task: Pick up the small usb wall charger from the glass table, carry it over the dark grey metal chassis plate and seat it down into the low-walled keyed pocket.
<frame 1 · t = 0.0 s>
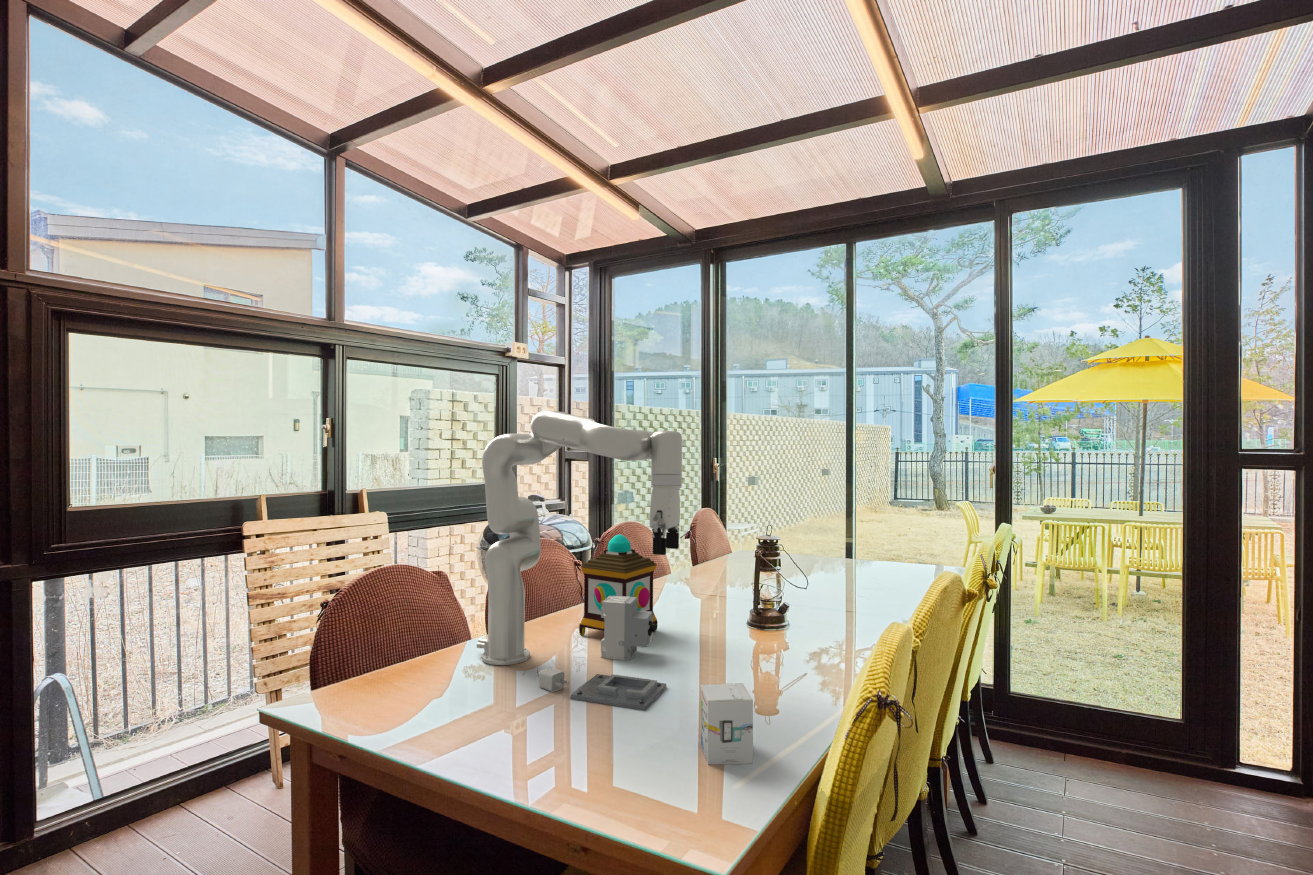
hand: (666, 551, 160), 31 cm above the table, fingers open, 9 cm apart
circuit breaker: (629, 656, 178), on the table
ink box: (726, 754, 122), on the table
chassis: (619, 693, 151), on the table
decorative lantern: (618, 634, 199), on the table
usb wall charger: (555, 690, 153), on the table
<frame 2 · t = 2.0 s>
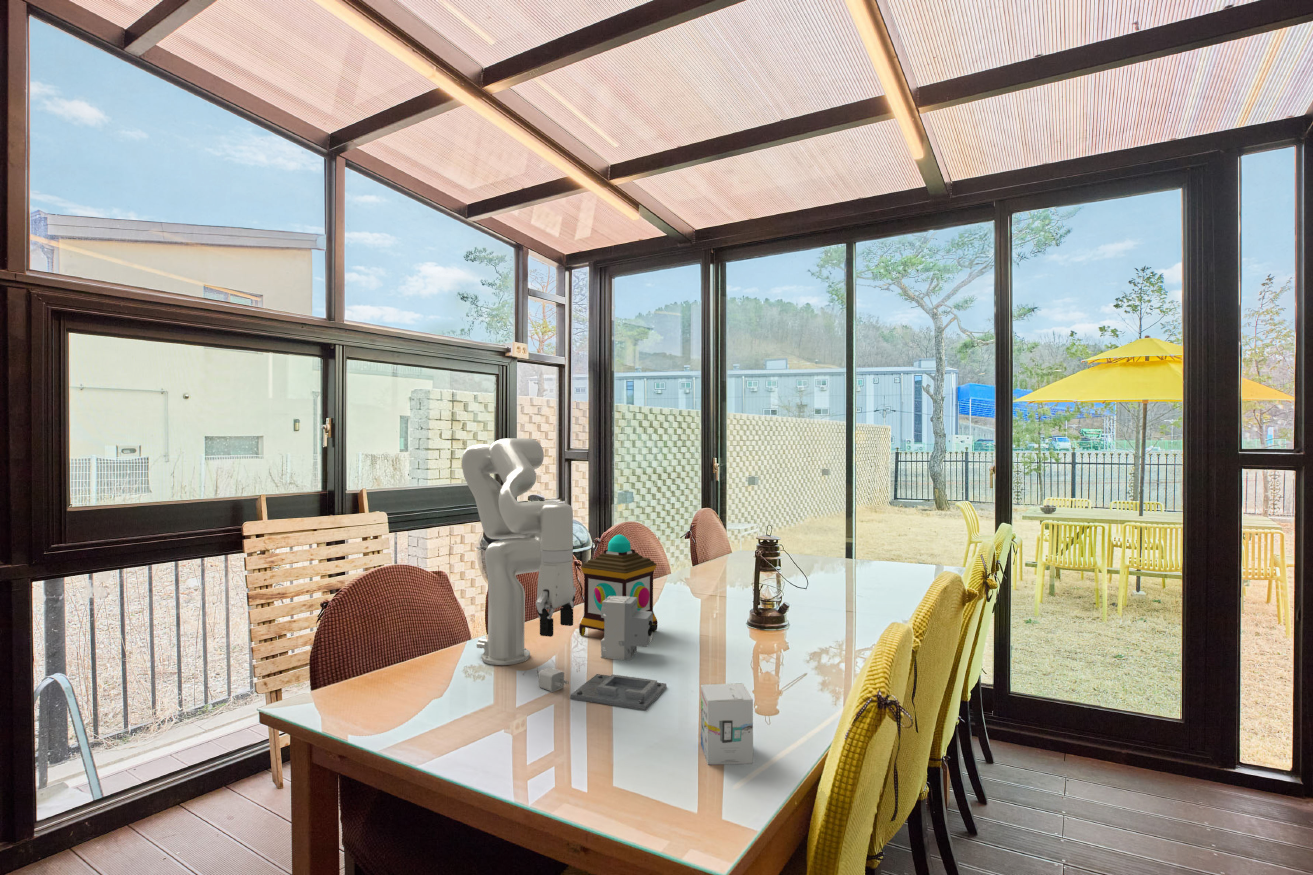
hand: (557, 630, 153), 14 cm above the table, fingers open, 9 cm apart
nothing on the table moved.
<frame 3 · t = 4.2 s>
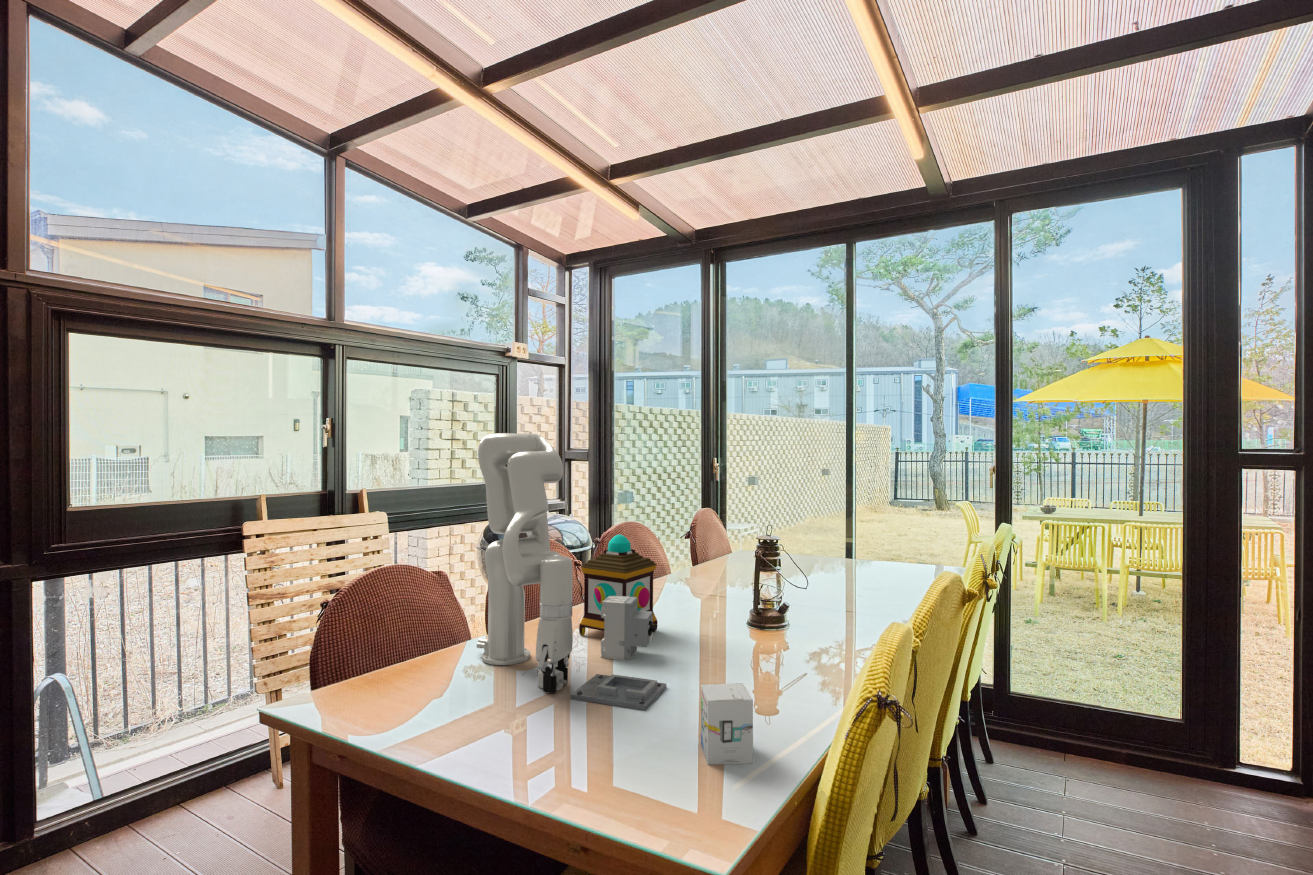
hand: (555, 687, 153), 0 cm above the table, fingers closed on usb wall charger, 4 cm apart
usb wall charger: (554, 690, 153), on the table, touching gripper
everything else where it was.
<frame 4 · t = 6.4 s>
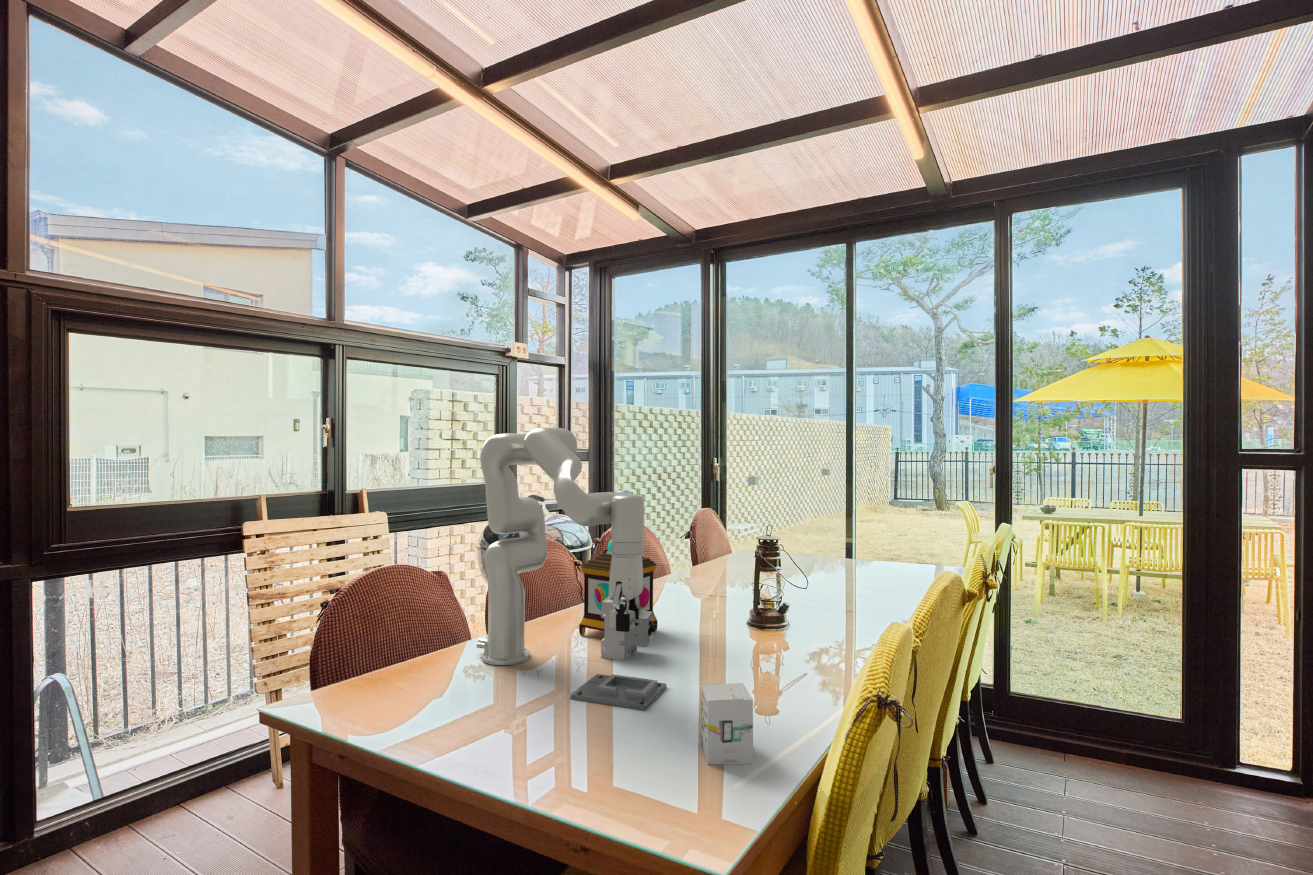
hand: (627, 627, 150), 15 cm above the table, fingers closed on usb wall charger, 4 cm apart
usb wall charger: (626, 629, 150), point 15 cm above the table, touching gripper
everything else where it was.
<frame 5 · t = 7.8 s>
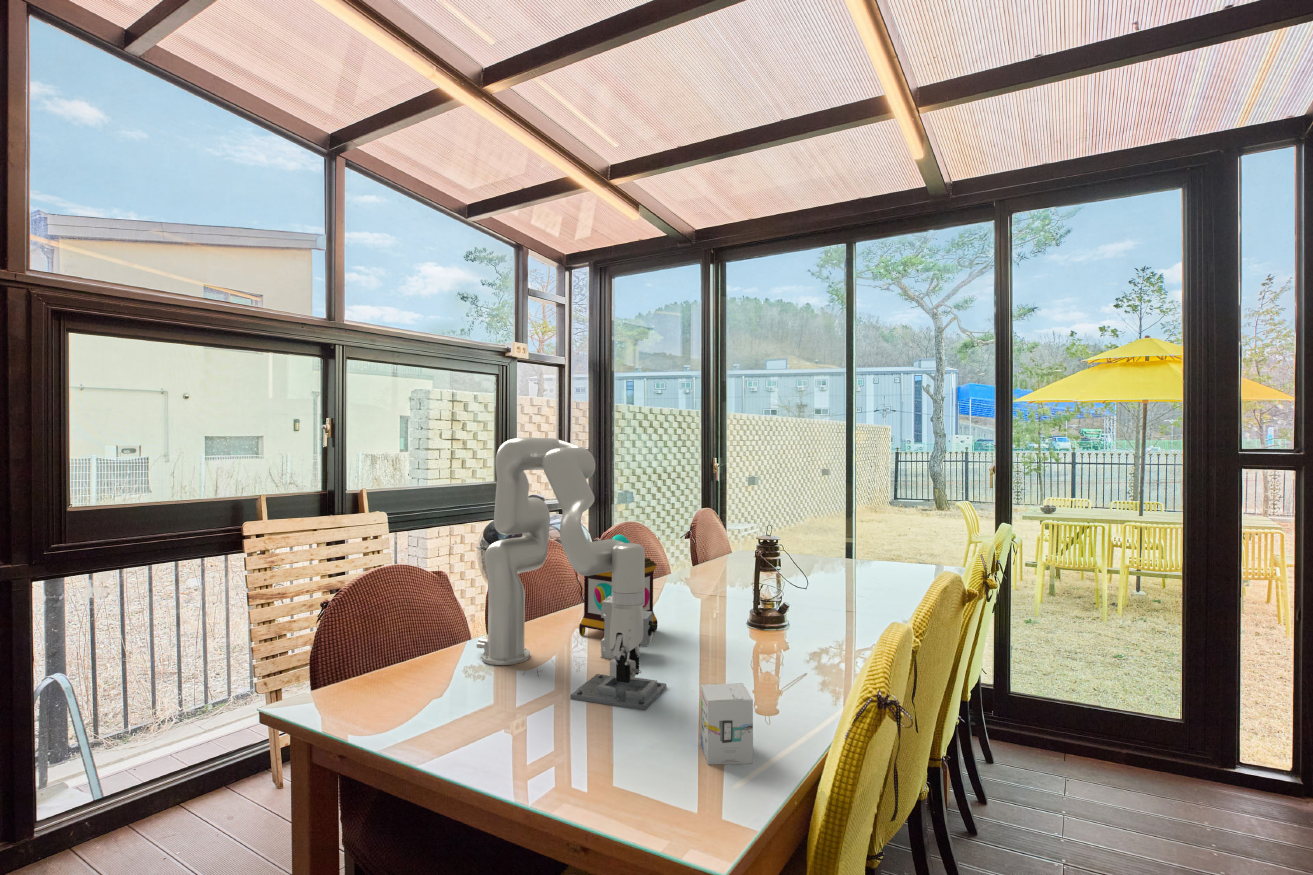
hand: (627, 676, 150), 4 cm above the table, fingers closed on usb wall charger, 4 cm apart
usb wall charger: (626, 679, 150), point 3 cm above the table, touching gripper
everything else where it was.
when the fingers open (3 cm above the table, at t = 8.6 s): usb wall charger drops 2 cm, resting on chassis.
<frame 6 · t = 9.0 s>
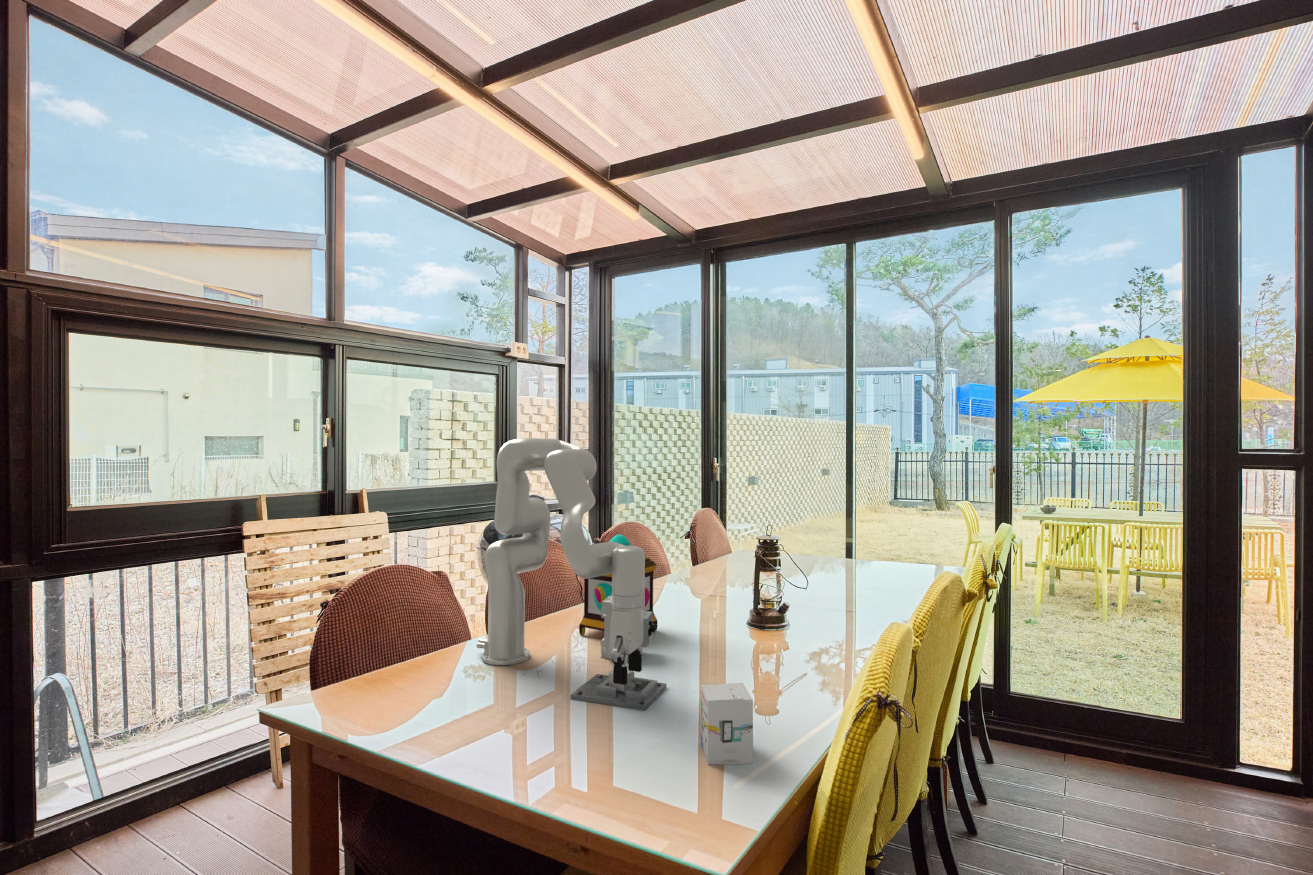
hand: (627, 676, 150), 4 cm above the table, fingers open, 8 cm apart
usb wall charger: (625, 690, 150), point 1 cm above the table, touching chassis
everything else where it was.
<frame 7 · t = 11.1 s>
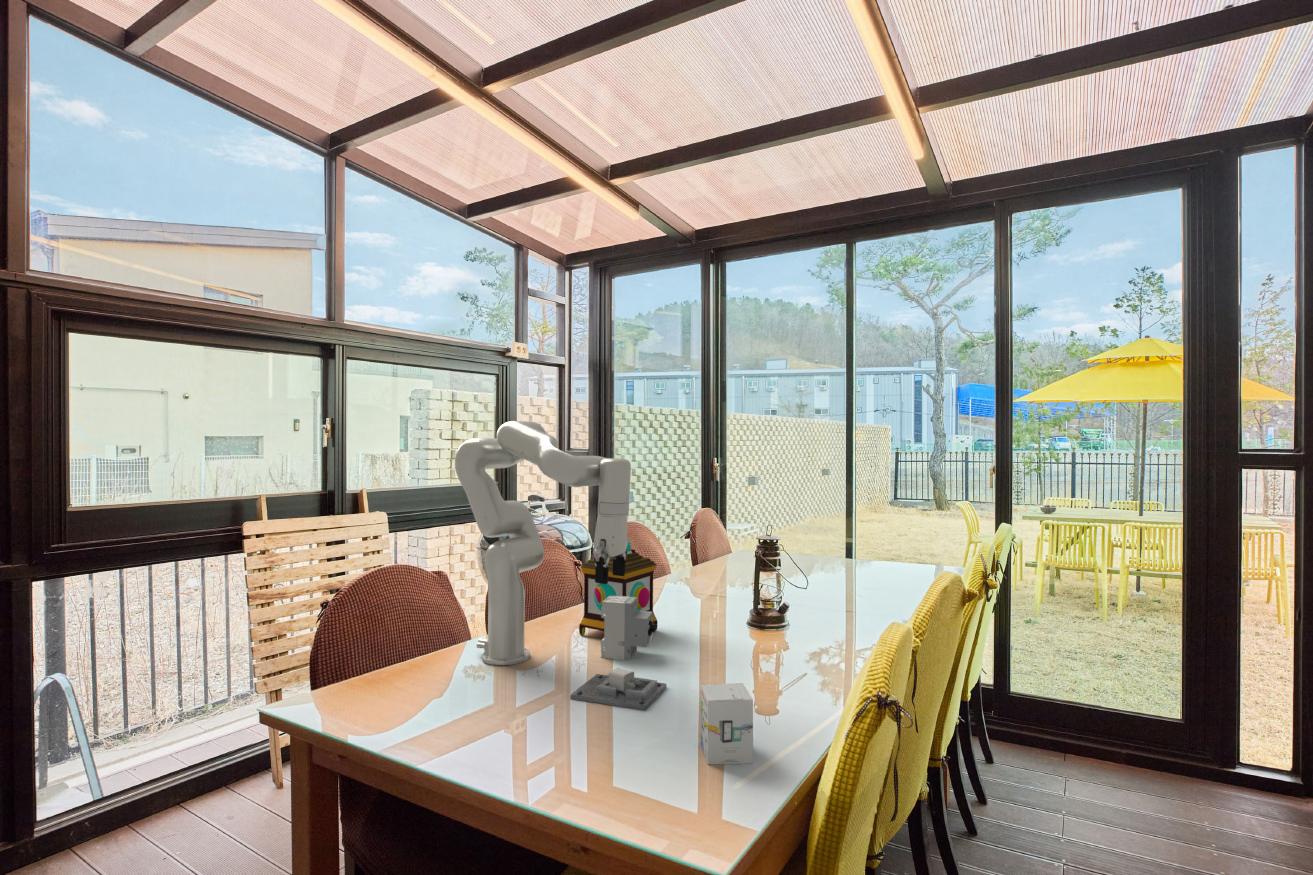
hand: (610, 579, 159), 24 cm above the table, fingers open, 9 cm apart
nothing on the table moved.
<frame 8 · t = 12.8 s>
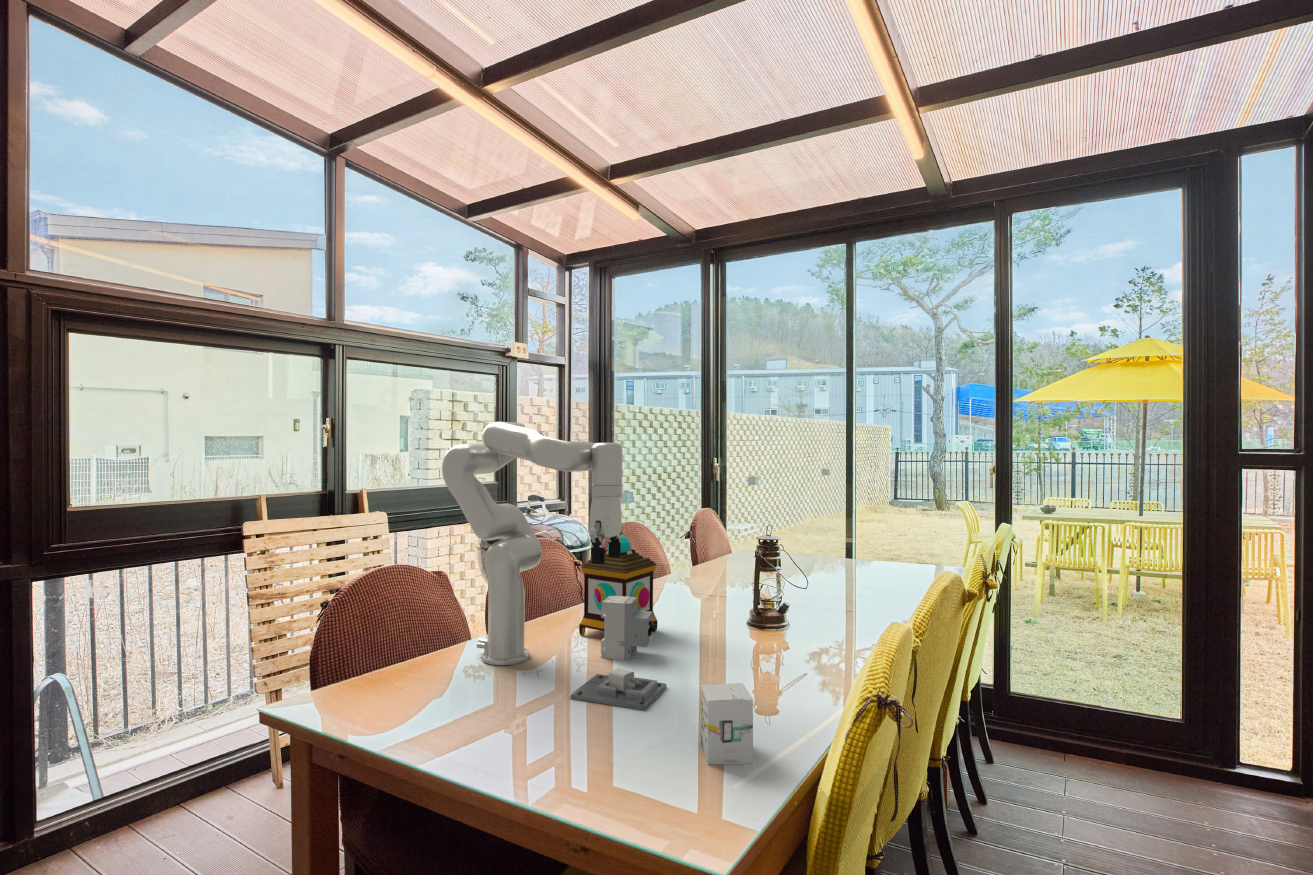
hand: (606, 560, 163), 28 cm above the table, fingers open, 9 cm apart
nothing on the table moved.
at the end: usb wall charger 0.5 cm from the target spot on the chassis, point 0.8 cm above the chassis's base; usb wall charger tilted 0°; the gripper is holding nothing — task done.
